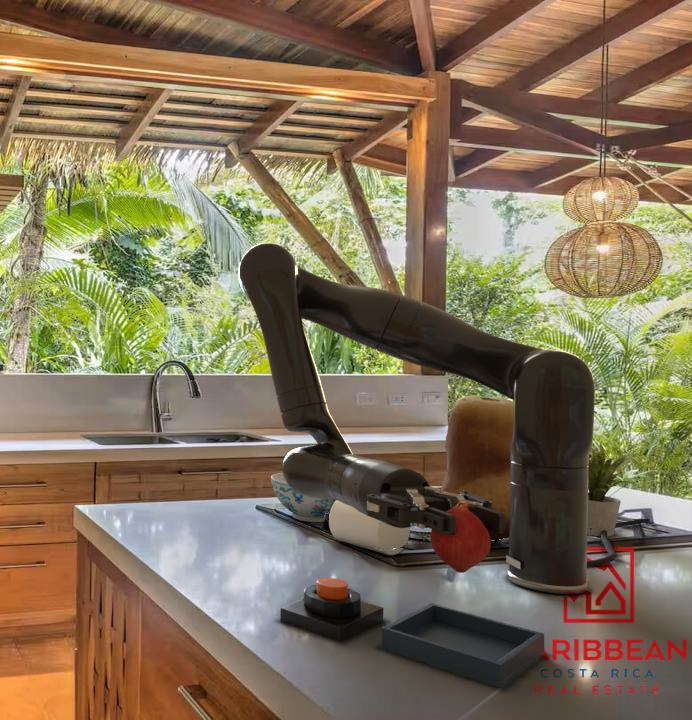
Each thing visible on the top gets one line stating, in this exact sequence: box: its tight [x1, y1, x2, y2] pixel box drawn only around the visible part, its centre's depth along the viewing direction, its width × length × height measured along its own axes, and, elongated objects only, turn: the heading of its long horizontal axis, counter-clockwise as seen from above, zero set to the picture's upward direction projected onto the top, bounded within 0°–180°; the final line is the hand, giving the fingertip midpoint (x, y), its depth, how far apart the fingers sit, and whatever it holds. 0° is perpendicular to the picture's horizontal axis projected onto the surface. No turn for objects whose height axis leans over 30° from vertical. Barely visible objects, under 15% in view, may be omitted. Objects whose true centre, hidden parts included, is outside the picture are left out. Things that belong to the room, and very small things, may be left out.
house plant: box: [587, 443, 648, 537], centre depth 130 cm, size 14×14×16 cm
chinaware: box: [270, 472, 336, 523], centre depth 143 cm, size 15×15×8 cm
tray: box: [381, 602, 545, 689], centre depth 81 cm, size 12×12×2 cm
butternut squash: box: [440, 395, 514, 544], centre depth 126 cm, size 14×13×25 cm
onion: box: [430, 501, 492, 574], centre depth 81 cm, size 6×6×8 cm
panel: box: [280, 584, 384, 643], centre depth 90 cm, size 10×8×4 cm
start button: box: [316, 577, 349, 600], centre depth 90 cm, size 4×4×2 cm
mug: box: [328, 500, 411, 556], centre depth 123 cm, size 12×10×8 cm
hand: (477, 524), depth 79 cm, fingers closed on onion, 5 cm apart
